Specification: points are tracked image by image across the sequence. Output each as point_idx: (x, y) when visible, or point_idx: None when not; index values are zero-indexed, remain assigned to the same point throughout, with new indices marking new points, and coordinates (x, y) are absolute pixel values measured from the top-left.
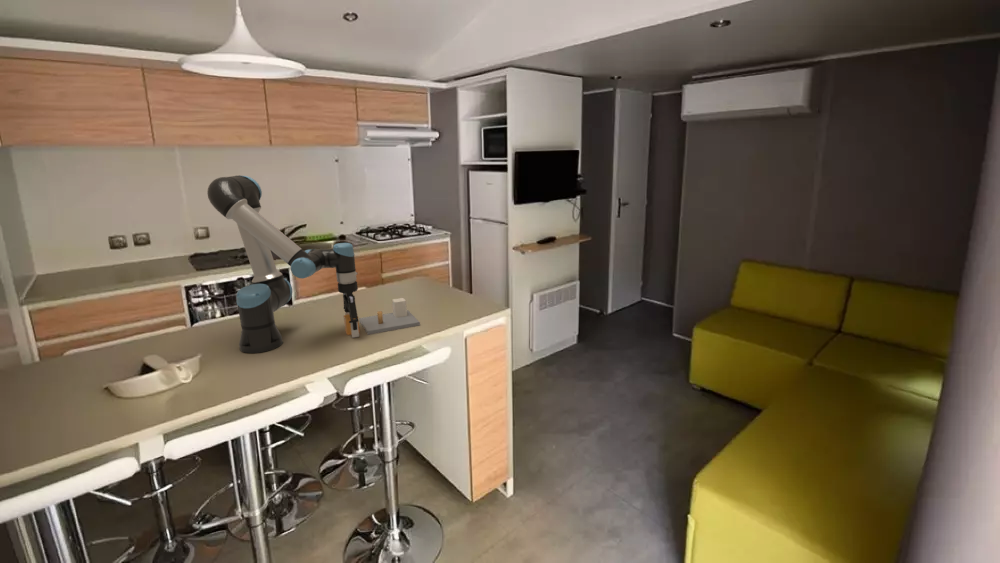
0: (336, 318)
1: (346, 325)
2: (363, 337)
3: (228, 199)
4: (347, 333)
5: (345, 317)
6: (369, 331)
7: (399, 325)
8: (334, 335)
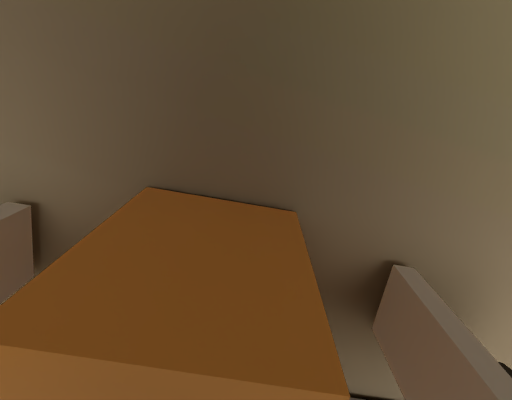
0: None
1: (80, 245)
2: None
3: None
4: (138, 197)
5: (115, 378)
6: None
7: None
8: (259, 52)
